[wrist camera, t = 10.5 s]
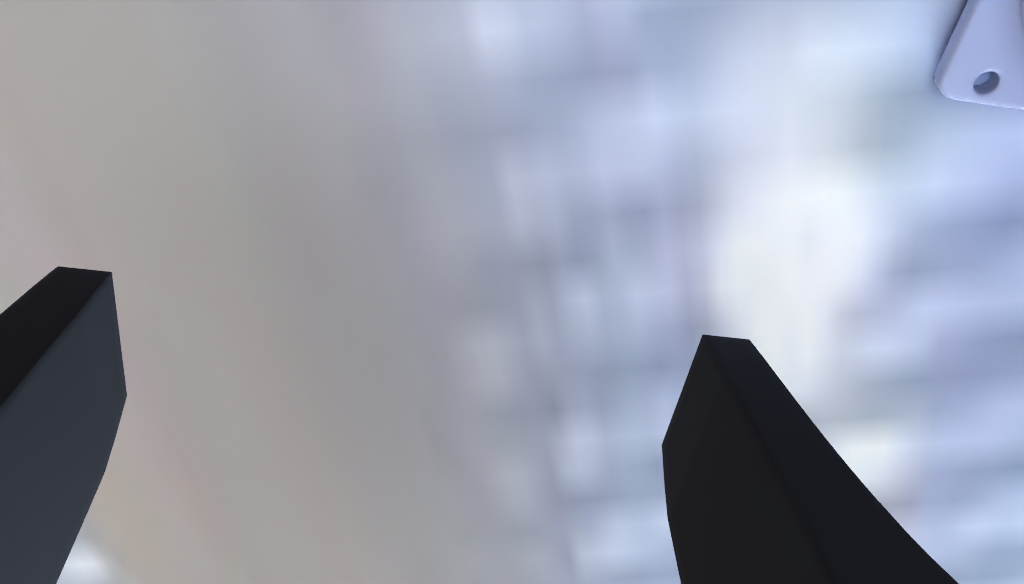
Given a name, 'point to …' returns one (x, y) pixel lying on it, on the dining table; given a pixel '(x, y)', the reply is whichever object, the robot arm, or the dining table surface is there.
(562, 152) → the dining table surface
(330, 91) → the dining table surface
